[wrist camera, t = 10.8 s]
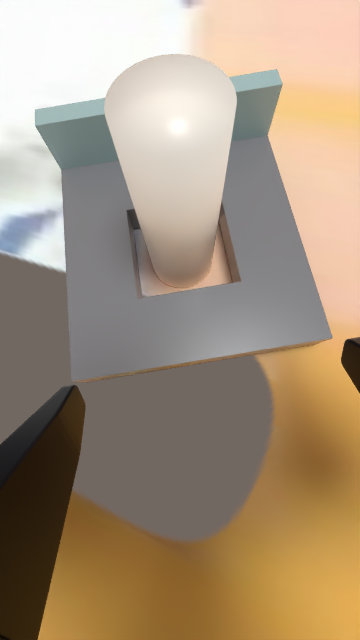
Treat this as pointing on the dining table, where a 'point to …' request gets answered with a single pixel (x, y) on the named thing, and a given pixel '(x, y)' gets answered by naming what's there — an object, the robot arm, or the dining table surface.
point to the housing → (192, 305)
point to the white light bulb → (174, 157)
